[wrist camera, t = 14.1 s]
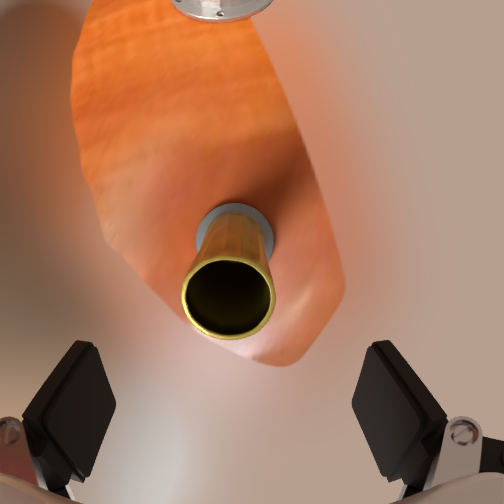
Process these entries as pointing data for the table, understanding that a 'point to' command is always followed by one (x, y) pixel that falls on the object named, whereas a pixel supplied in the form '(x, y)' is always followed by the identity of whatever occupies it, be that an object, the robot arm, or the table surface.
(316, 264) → the table surface
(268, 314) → the vase
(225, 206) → the coaster
